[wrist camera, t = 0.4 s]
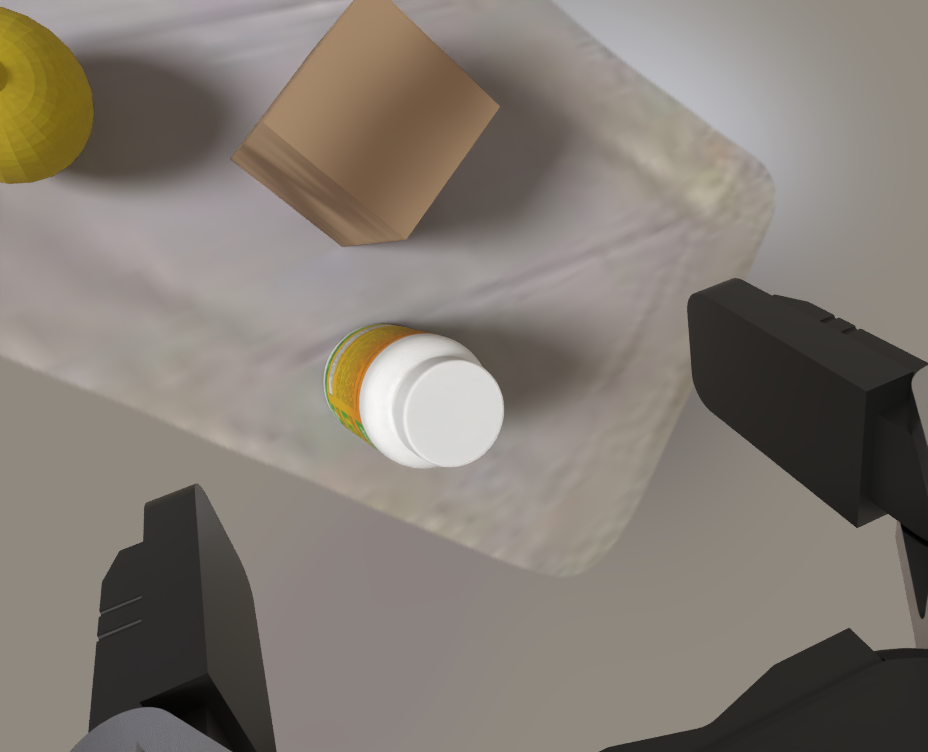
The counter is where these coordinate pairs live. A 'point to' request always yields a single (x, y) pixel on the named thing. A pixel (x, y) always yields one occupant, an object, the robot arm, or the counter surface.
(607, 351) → the counter surface
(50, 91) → the lemon
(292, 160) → the brown wooden block
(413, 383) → the supplement bottle
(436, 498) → the counter surface
